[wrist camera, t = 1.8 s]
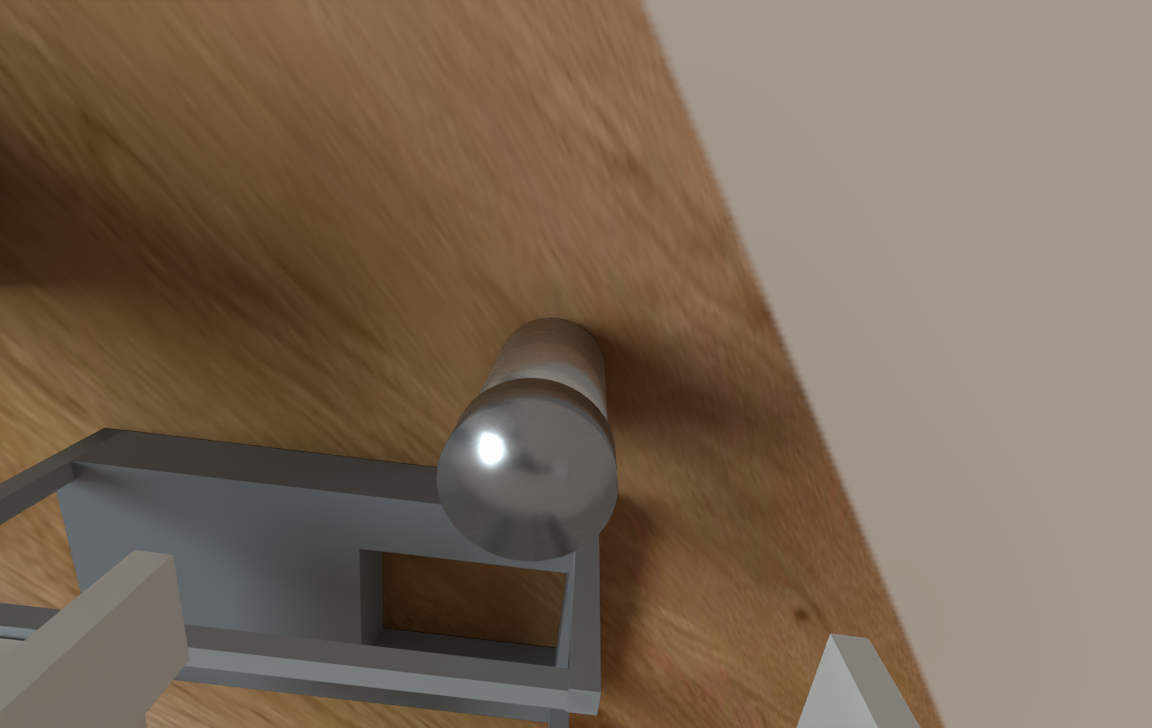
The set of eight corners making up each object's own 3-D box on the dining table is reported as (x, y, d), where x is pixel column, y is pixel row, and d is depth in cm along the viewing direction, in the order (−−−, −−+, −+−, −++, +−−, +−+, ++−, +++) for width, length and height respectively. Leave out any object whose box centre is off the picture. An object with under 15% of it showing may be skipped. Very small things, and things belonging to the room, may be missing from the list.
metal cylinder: (498, 306, 25) (439, 392, 15) (617, 321, 25) (630, 416, 15) (490, 414, 27) (433, 550, 17) (601, 427, 27) (604, 570, 17)
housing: (103, 427, 27) (-215, 598, 17) (598, 486, 28) (601, 692, 17) (144, 626, 32) (-87, 863, 21) (569, 675, 32) (557, 934, 21)
